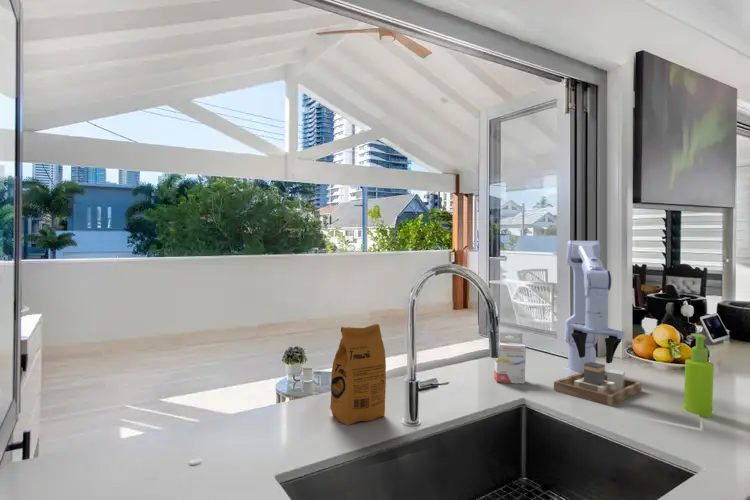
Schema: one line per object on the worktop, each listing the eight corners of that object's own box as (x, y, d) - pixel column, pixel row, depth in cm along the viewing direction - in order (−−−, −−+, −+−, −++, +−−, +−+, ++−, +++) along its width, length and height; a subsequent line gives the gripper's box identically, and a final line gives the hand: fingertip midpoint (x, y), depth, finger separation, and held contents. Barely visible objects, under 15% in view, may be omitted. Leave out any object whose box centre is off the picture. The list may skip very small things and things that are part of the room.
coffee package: (325, 413, 112) (327, 324, 112) (369, 405, 119) (371, 320, 118) (343, 428, 104) (345, 331, 103) (390, 418, 110) (391, 326, 110)
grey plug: (608, 385, 137) (609, 369, 137) (624, 388, 135) (624, 371, 135) (606, 389, 134) (607, 372, 134) (622, 391, 131) (622, 374, 131)
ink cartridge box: (496, 382, 140) (497, 334, 140) (494, 378, 145) (495, 331, 145) (525, 384, 139) (526, 335, 139) (521, 379, 144) (522, 332, 144)
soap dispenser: (705, 409, 120) (708, 333, 120) (715, 418, 114) (718, 338, 113) (679, 406, 122) (681, 331, 122) (688, 415, 116) (690, 336, 115)
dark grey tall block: (590, 388, 134) (590, 361, 133) (604, 392, 130) (605, 364, 130) (583, 391, 131) (583, 363, 131) (597, 395, 128) (598, 366, 128)
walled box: (586, 379, 145) (586, 368, 145) (641, 393, 133) (641, 381, 132) (553, 392, 132) (553, 380, 132) (611, 408, 120) (611, 394, 120)
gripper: (565, 310, 134) (563, 356, 134) (617, 317, 122) (615, 367, 123) (576, 308, 138) (575, 353, 138) (628, 314, 127) (626, 363, 127)
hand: (595, 359), depth 131 cm, fingers open, 7 cm apart
